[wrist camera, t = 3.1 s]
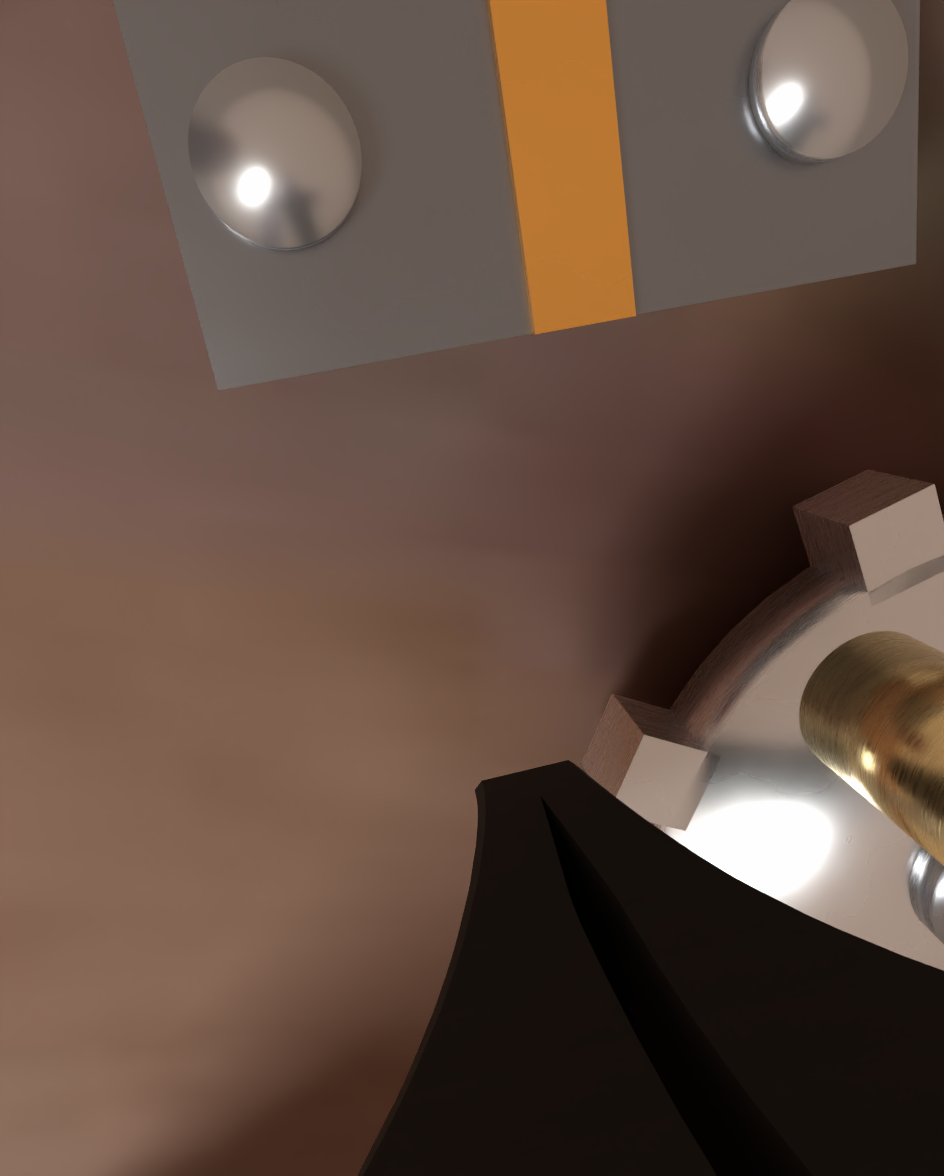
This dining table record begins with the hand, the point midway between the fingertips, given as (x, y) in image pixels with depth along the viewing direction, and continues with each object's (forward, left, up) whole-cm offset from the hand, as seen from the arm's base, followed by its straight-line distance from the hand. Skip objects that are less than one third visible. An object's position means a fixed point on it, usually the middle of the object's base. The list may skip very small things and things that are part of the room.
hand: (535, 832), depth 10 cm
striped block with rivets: (+8, +3, -4) cm, 9 cm away
